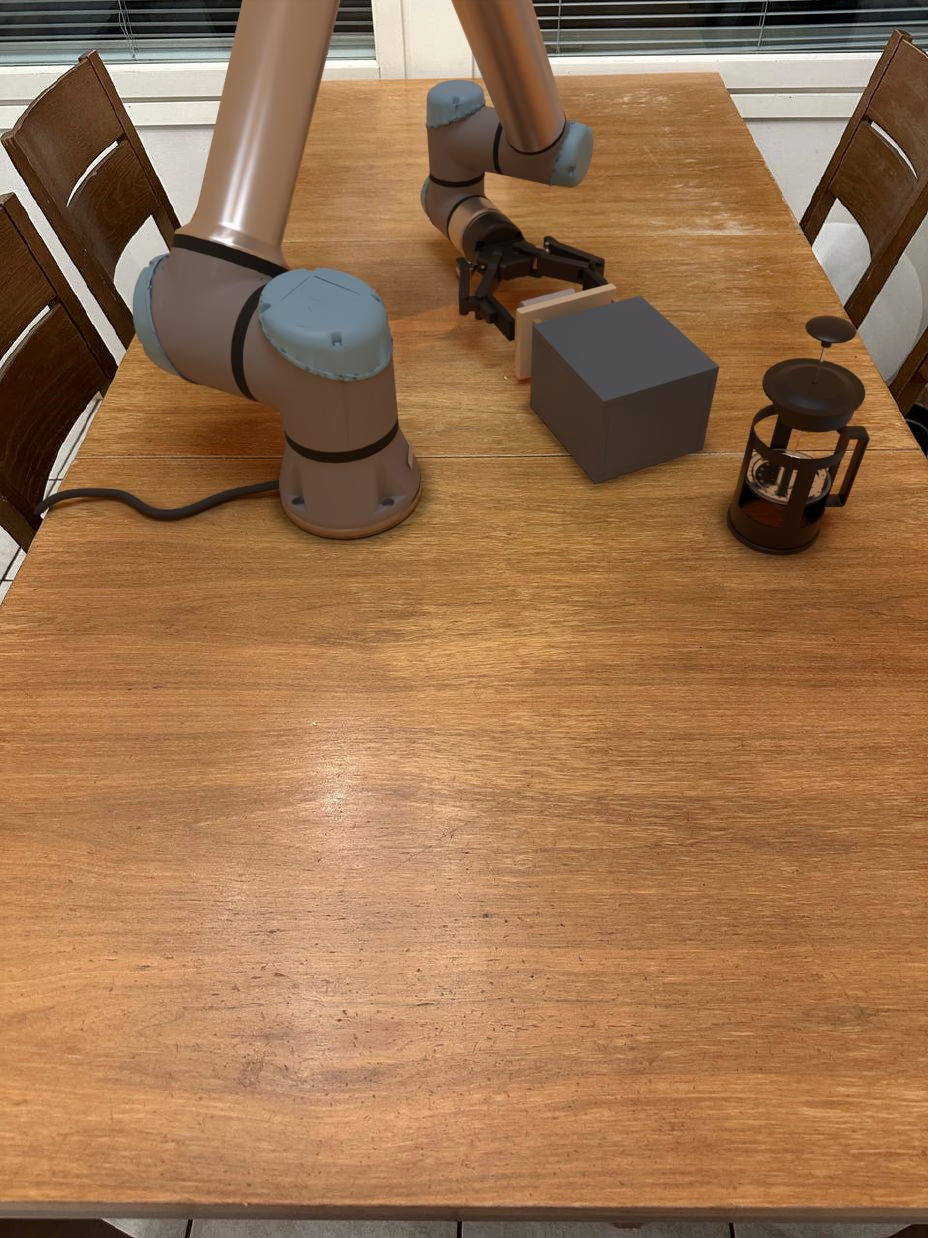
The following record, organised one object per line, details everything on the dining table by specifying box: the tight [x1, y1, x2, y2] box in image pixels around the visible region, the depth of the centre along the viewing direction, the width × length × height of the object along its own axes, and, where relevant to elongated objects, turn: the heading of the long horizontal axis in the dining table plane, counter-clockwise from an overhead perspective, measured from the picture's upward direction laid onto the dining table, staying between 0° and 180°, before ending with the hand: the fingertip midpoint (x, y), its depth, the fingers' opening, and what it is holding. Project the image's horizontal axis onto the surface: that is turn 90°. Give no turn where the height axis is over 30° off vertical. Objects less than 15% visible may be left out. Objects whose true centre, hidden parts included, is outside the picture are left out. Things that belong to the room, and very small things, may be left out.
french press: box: [726, 315, 870, 556], centre depth 89 cm, size 12×9×23 cm
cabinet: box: [529, 295, 720, 485], centre depth 105 cm, size 16×14×11 cm
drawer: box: [514, 283, 621, 380], centre depth 110 cm, size 19×13×9 cm, turn 25°
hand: (562, 317), depth 112 cm, fingers closed on drawer, 13 cm apart
